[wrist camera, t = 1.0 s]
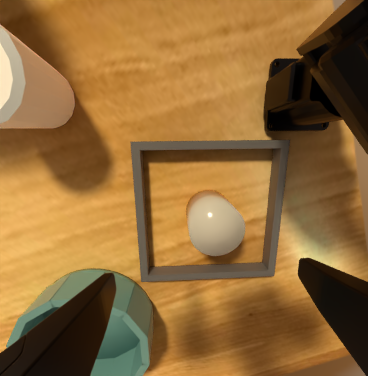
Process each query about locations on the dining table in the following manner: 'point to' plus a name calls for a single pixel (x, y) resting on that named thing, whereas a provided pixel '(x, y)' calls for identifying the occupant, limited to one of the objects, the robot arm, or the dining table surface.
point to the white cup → (31, 88)
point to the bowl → (117, 327)
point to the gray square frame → (214, 269)
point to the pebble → (214, 223)
